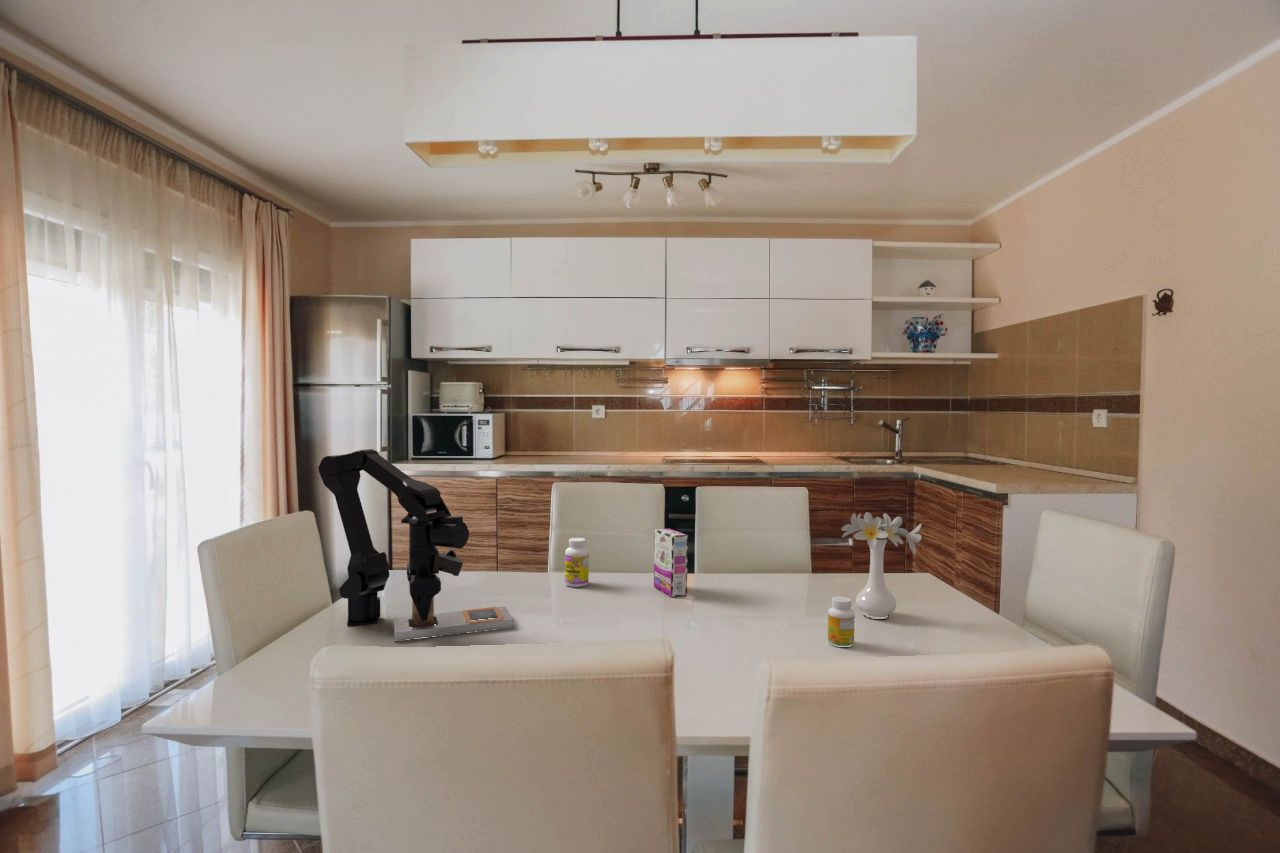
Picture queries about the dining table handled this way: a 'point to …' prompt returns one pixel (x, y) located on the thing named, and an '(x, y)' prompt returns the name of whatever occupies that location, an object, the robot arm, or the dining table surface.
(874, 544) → the flower vase
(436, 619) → the gray peg socket board
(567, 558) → the supplement bottle
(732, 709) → the dining table surface
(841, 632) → the supplement bottle
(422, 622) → the walnut peg
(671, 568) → the candy bar box
